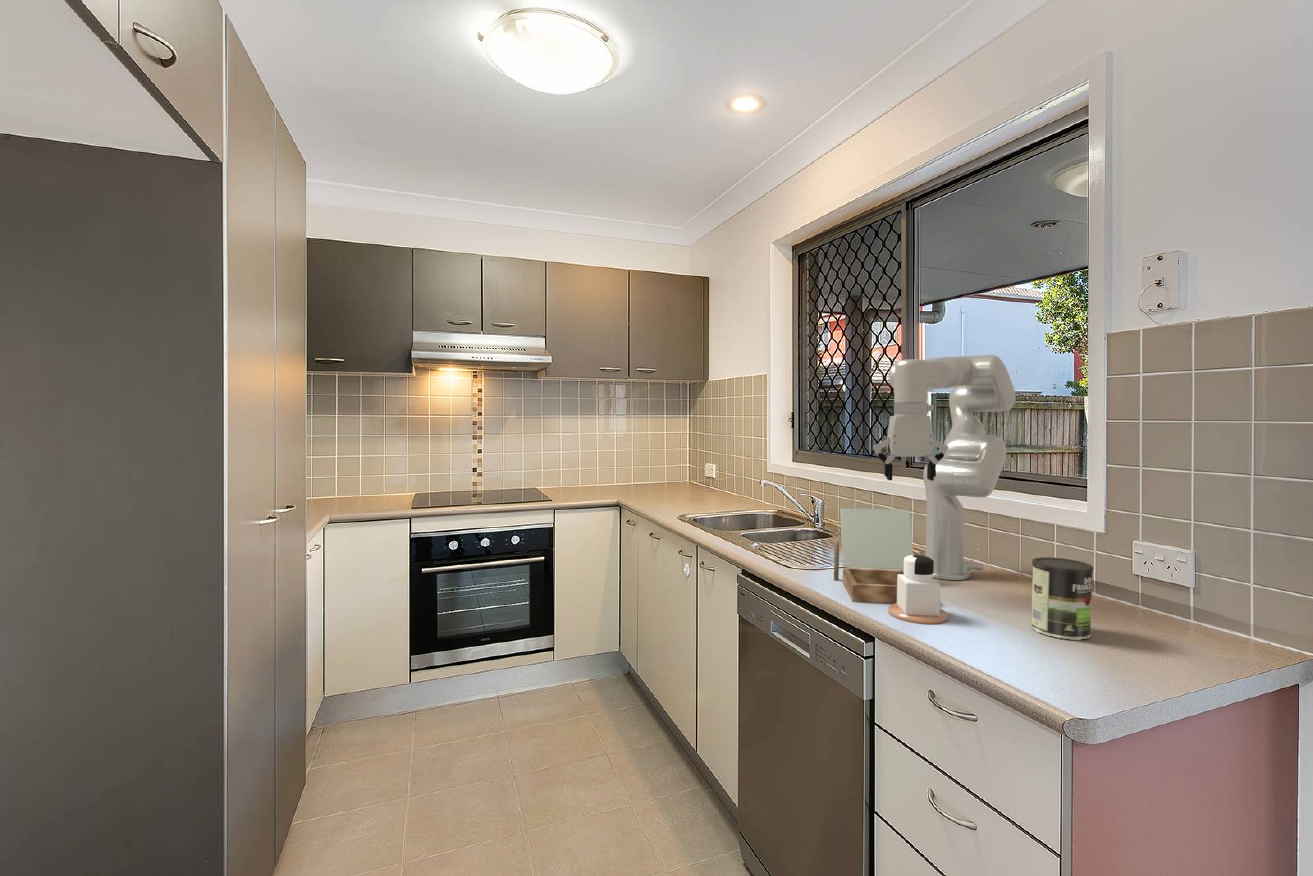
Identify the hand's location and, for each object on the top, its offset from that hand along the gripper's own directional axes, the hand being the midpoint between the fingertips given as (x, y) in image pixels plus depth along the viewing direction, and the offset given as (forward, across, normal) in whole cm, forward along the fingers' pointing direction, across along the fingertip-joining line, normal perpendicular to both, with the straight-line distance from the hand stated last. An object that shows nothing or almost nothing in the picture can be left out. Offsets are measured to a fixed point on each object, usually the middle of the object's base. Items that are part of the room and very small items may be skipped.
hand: (909, 479), depth 150 cm
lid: (+16, +6, -7) cm, 19 cm away
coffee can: (+28, -23, +24) cm, 44 cm away
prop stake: (+28, +16, -8) cm, 33 cm away
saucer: (+28, +3, +18) cm, 33 cm away
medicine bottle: (+27, +3, +18) cm, 32 cm away
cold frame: (+28, +6, +3) cm, 29 cm away
